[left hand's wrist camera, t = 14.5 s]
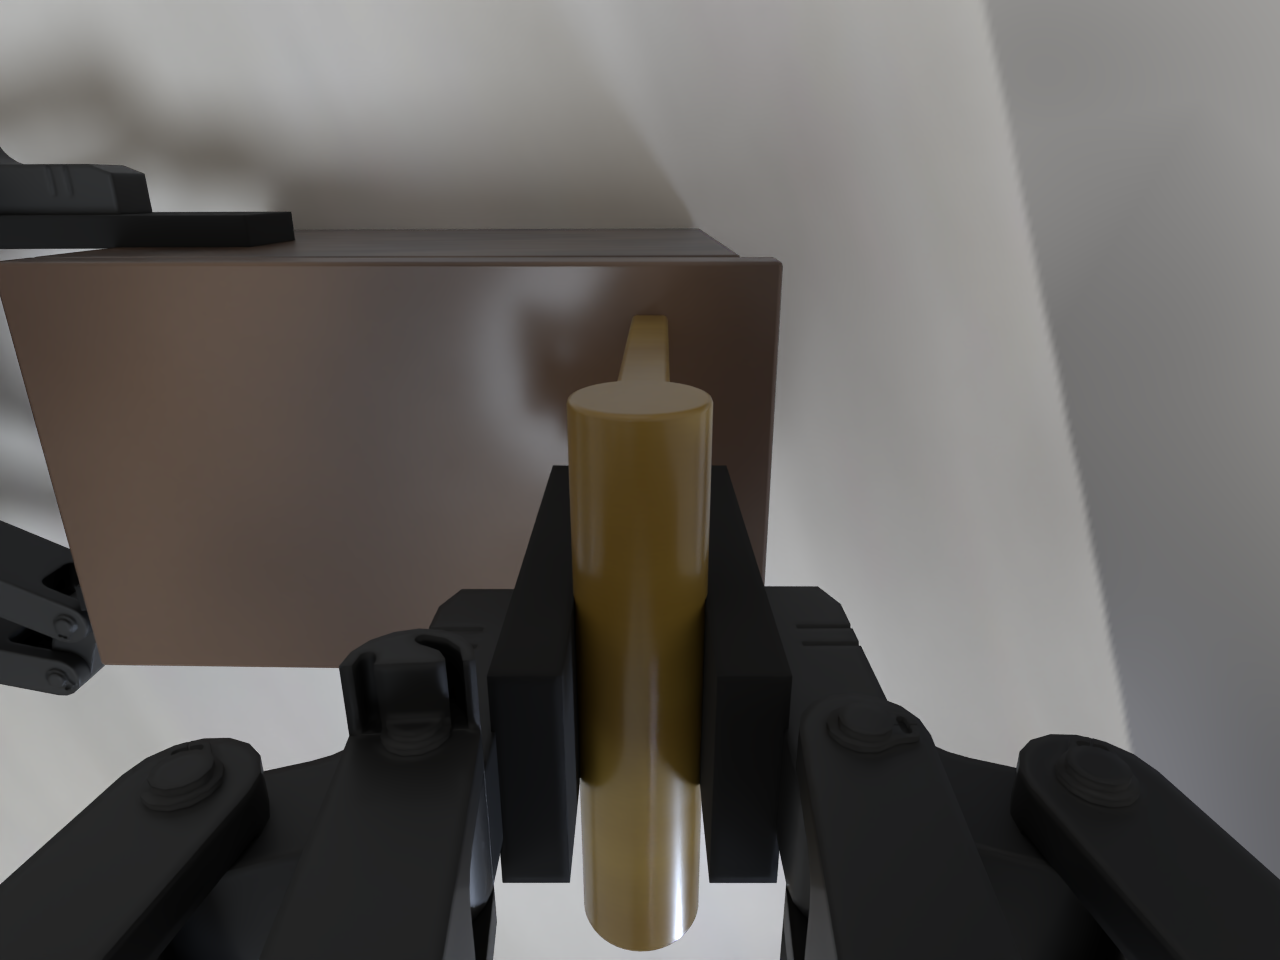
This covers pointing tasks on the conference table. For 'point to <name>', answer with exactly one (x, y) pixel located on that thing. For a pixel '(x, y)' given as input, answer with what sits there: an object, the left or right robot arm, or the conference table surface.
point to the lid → (418, 480)
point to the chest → (451, 245)
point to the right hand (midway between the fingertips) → (300, 415)
